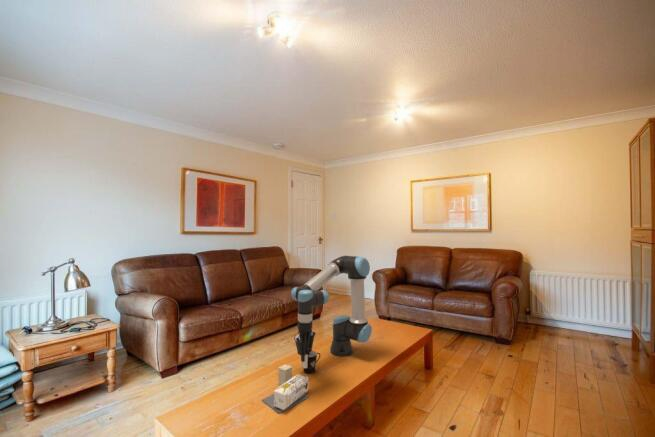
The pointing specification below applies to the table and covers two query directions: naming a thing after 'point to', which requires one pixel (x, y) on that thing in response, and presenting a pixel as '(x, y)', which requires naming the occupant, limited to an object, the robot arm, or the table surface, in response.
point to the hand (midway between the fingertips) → (304, 367)
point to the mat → (270, 403)
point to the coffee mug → (311, 362)
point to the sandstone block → (284, 374)
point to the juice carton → (290, 391)
